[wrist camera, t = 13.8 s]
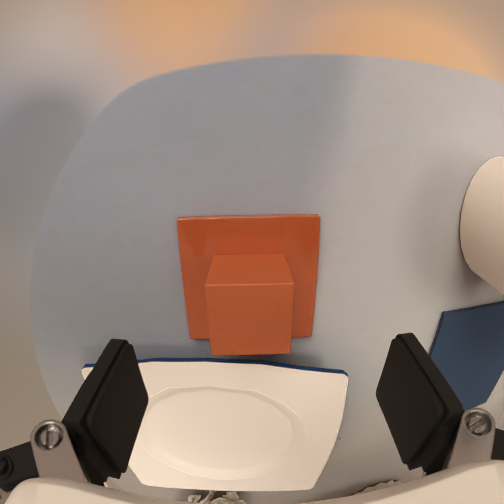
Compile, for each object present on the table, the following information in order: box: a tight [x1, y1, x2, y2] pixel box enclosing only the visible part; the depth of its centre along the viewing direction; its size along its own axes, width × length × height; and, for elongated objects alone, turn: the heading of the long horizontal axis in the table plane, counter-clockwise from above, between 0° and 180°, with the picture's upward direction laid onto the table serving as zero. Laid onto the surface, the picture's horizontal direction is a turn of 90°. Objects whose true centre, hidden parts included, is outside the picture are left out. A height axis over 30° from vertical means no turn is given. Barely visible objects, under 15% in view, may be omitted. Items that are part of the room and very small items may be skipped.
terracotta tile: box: [177, 214, 320, 339], centre depth 18 cm, size 8×8×1 cm
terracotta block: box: [205, 254, 294, 355], centre depth 16 cm, size 4×4×4 cm
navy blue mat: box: [429, 301, 504, 411], centre depth 22 cm, size 15×14×1 cm
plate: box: [81, 358, 348, 491], centre depth 22 cm, size 20×20×3 cm
